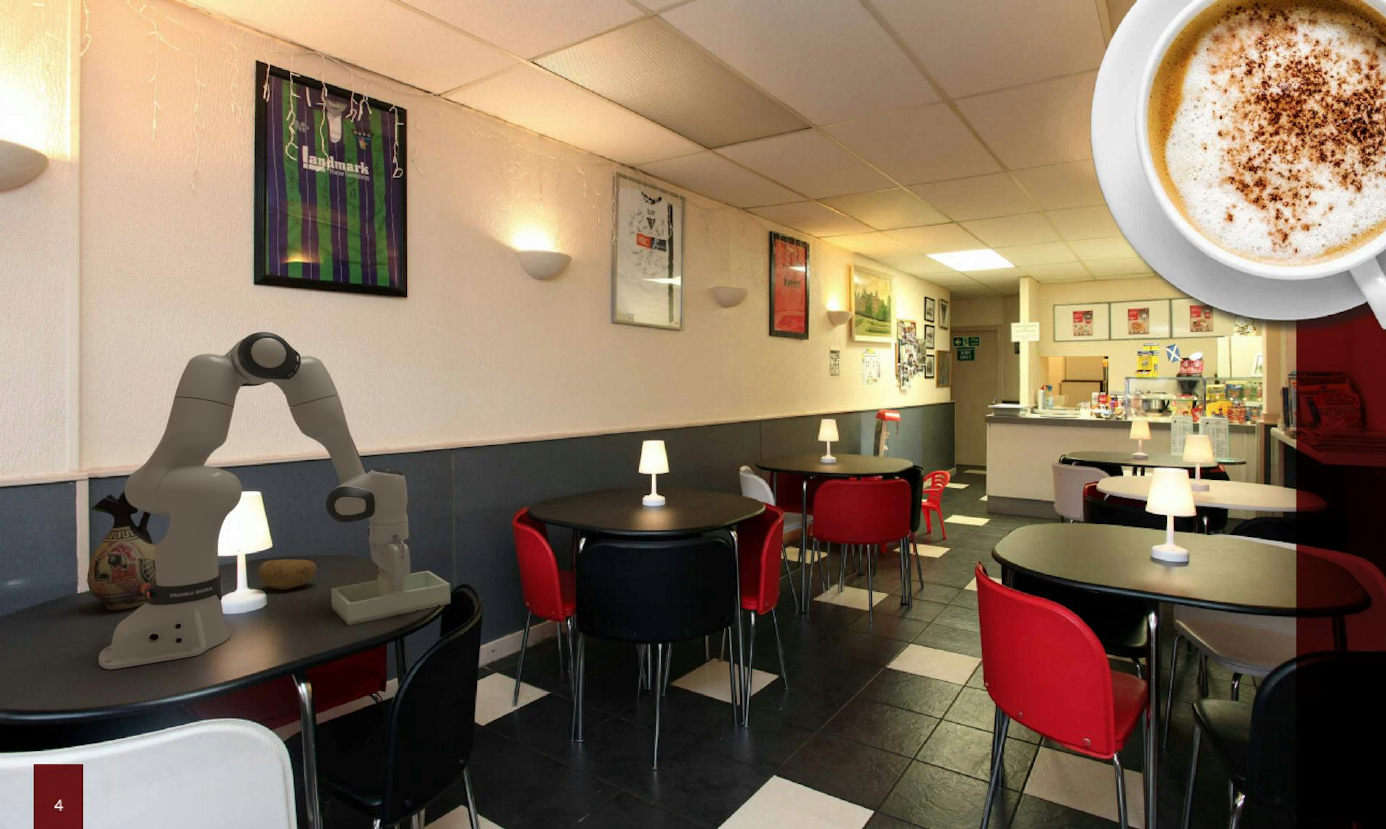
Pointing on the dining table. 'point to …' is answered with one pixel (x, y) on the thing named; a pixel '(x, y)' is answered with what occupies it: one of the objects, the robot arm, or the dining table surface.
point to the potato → (286, 573)
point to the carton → (387, 585)
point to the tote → (389, 598)
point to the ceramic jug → (122, 557)
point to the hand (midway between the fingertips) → (391, 586)
